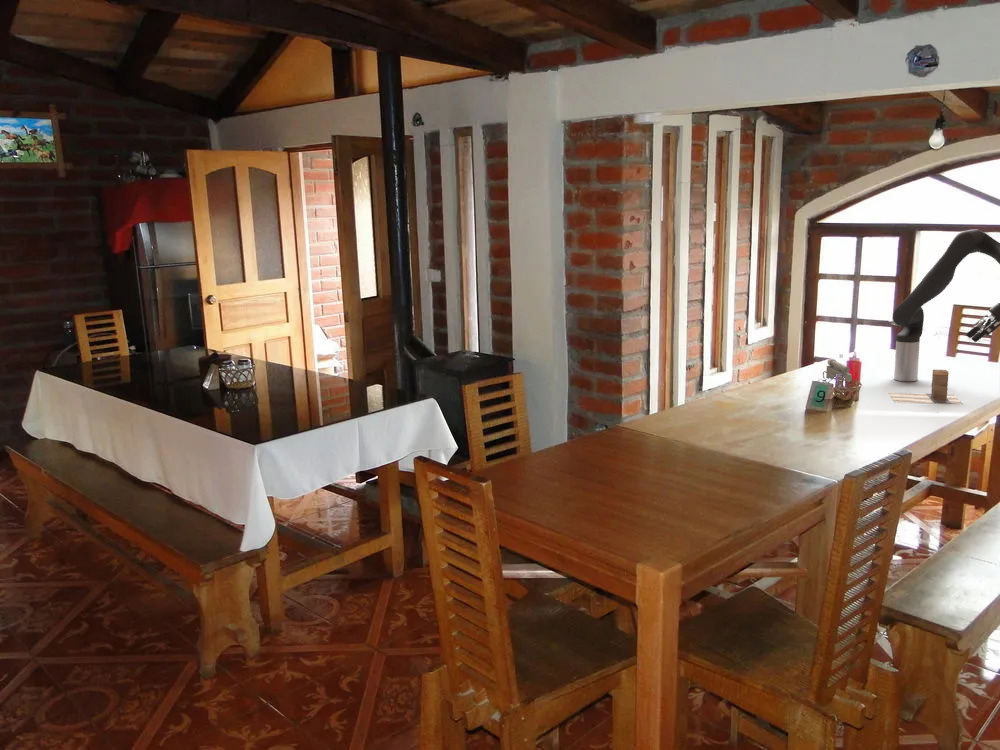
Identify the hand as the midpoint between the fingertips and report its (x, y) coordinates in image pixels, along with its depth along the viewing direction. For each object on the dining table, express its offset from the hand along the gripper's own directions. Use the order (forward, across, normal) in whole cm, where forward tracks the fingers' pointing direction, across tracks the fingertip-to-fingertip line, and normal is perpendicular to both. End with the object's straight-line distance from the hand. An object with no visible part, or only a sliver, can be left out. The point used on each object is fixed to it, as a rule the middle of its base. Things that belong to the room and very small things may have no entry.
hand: (970, 338), depth 315 cm
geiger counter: (+51, -11, -15) cm, 54 cm away
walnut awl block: (+24, 0, +10) cm, 26 cm away
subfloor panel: (+28, 0, +8) cm, 29 cm away
